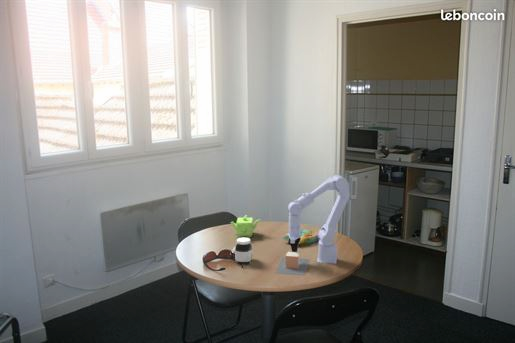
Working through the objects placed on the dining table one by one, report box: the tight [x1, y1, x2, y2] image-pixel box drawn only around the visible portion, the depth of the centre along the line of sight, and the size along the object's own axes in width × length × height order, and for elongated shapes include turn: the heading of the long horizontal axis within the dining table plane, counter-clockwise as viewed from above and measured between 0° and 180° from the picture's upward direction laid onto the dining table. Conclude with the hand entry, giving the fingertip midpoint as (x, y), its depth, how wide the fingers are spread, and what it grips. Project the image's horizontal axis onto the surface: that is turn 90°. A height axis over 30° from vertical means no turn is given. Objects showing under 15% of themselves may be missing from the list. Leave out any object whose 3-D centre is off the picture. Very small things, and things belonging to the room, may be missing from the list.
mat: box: [274, 256, 310, 276], centre depth 216 cm, size 14×20×1 cm
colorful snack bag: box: [281, 228, 320, 247], centre depth 251 cm, size 12×5×20 cm
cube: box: [285, 251, 301, 269], centre depth 215 cm, size 6×6×6 cm
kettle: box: [230, 214, 261, 239], centre depth 261 cm, size 15×14×11 cm
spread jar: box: [230, 236, 253, 265], centre depth 223 cm, size 12×11×12 cm
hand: (294, 252), depth 220 cm, fingers closed
